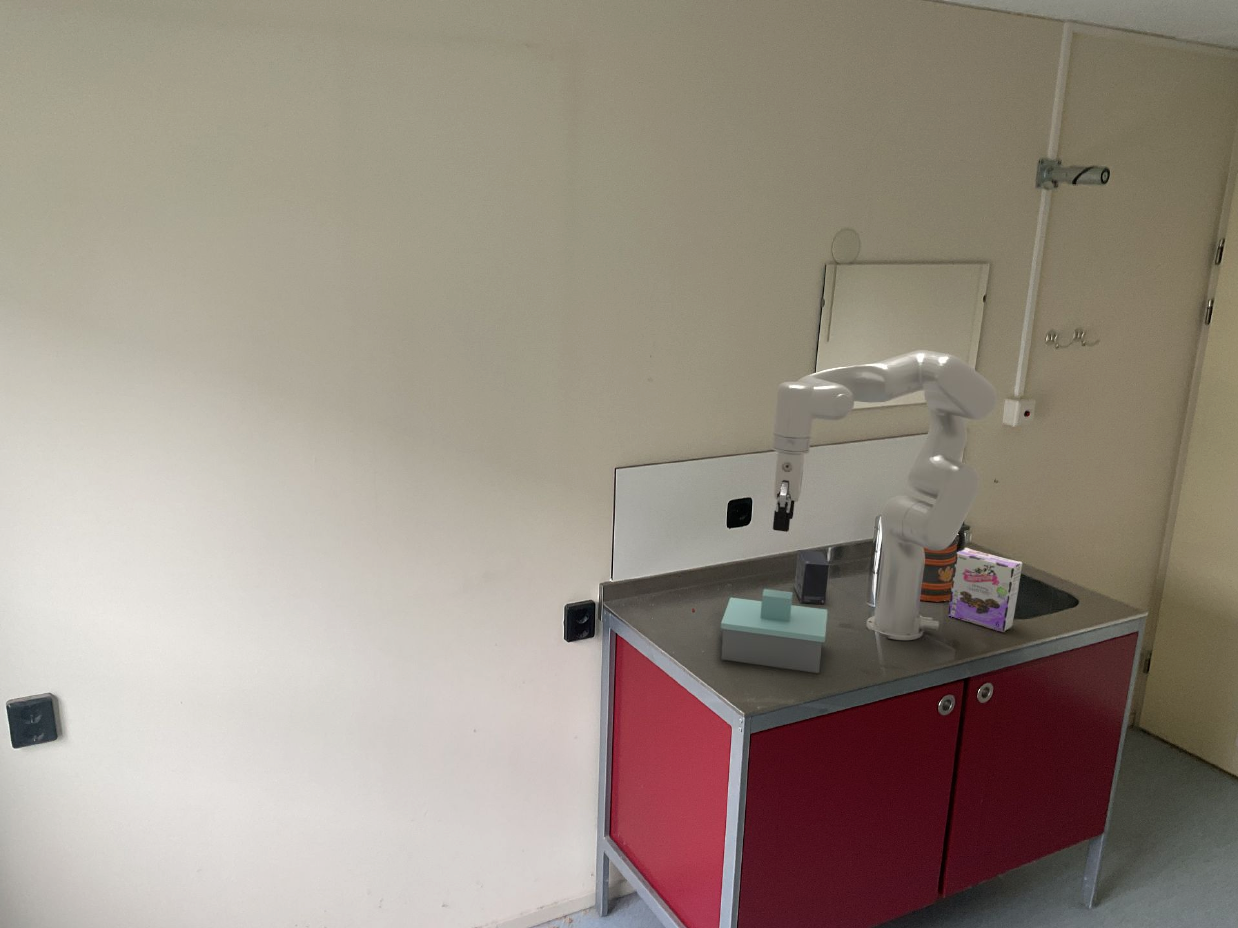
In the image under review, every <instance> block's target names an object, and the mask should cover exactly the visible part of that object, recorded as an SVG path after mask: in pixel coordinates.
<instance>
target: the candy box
mask: <svg viewBox="0 0 1238 928" xmlns="http://www.w3.org/2000/svg"><path fill="white" fill-rule="evenodd" d="M1022 569H1023V562H1022V561H1020V560H1019V561H1018V560H1013V559H1011V558H1010V559H1009V558H1005V557H1003V556H1002V557H1001V556H997V555H993V554H990V553H987V552H986V553H985V552H982V551H980V550H975V549H971V548H969V547H964V549H963V550H961V551H959V552H957V554H956V561H955V568H954V575H953V582H952V589H951V597H950V600H949V606H948V612H947V616H948V617H949V616H951V617H950V618H952V617H955V618H960V619H965V620H968V621H974V622H977V623H980V624H983V625H987V626H989V627H993V628H994V629H998V630H1003V631H1004V630H1006V629H1008V628H1009V627H1011V626H1012V625H1013V626H1014V617H1015V612H1016V605H1017V599H1018V594H1019V588H1020V587H1019V586H1020V581H1021V580H1020V579H1021V574H1022ZM955 618H954V619H955Z"/></svg>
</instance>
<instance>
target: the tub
mask: <svg viewBox="0 0 1238 928" xmlns="http://www.w3.org/2000/svg"><path fill="white" fill-rule="evenodd" d="M721 644H722V645H721V657H720V659H721V660H724V661H730V662H738V663H745V664H751V665H758V666H766V667H772V668H777V669H778V668H779V669H784V670H785V669H787V670H793V671H800V672H806V673H807V672H808V673H814V674H819V673H820V668H821V667H820V666H821V658H822V646H823V645H822V644H823V642H817V641H810V640H803V639H795V638H788V637H780V636H773V635H766V634H758V633H751V632H743V631H736V630H728V629H723V631H722V643H721Z"/></svg>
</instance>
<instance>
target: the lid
mask: <svg viewBox="0 0 1238 928" xmlns="http://www.w3.org/2000/svg"><path fill="white" fill-rule="evenodd" d="M792 602H793V592H792V591H784V590H776V589H767V588H764V589H763V592H762V595H761V600H754V599H744V598H737V597H729V600H728V603H727V606H726V609H725V611H724V614H723V617H722V620H721V622H720V629H728V630H736V631H743V632H751V633H758V634H766V635H773V636H780V637H788V638H795V639H803V640H810V641H817V642H822V643H826V642H825V640H826V632H827V620H828V609H825V608H817V607H809V606H799V605H793V604H792Z"/></svg>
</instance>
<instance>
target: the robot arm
mask: <svg viewBox="0 0 1238 928" xmlns="http://www.w3.org/2000/svg"><path fill="white" fill-rule="evenodd" d="M920 391H923V392H924V401H925V402H926V403H925V404H926V406H927V409H928V413H929V420H930V421H929V429H928V432H927V434H926V437H925V439H924V441H923V443H922V444H921V447H920V449H919V451H918V453H917V455H916V457H915V460H914V461H913V463H912V465H911V466H910V469H909V472H908V475H907V483H908V485H909V487H910V488H911V490H913V491H915V493H918V494H920V495H922V496H925V497H929V498H932V499H933V500H935V502H934V504H932V503H930V502H927V501H925V500H922V499H920V498H917V497H913V496H909V495H903V494H902V495H896V496H893V497H891V498H890V499H888V500H887V501H886V503H884V506H883V507H882V511H881V514H880V524H881V525H880V527H881V537H882V538H881V541H882V542H881V545H882V546H881V555H880V556H881V558H880V565H879V566H880V567H879V573H878V583H877V593H876V599H875V600H876V601H875V608H874V615H873V616H871V617H869V618H868V619H867V620H866V628H867V629H868V630H872V631H875V632H877V633H880V634H882V635H886V638H887V639H891V640H896V641H912V640H913V641H914V640H917V639H920V638H921V637H922V636H923V635H924V629H925V628H926V629H929V630H939V627H940V622H939V620H933V617H929V616H927V617H926V616H923V615H921V613H920V602H921V600H920V596H921V588H922V580H923V572H924V565H925V553H924V548H926V549H929V550H932V551H941V550H944V549H946V548H947V547H948V546H949V545H950V544H951V543H952V542H953V540H954V539H955V537H956V536H957V537H958V532H959V530H960V528H961V526H962V524H963V522H964V523H965V519H966V518H967V516H968V514H969V512H970V510H971V508H972V506H973V504H974V503H975V499H976V498H977V495H978V493H979V492H978V491H979V488H980V486H979V485H980V479H979V475H978V472H977V470H976V469H975V468H974V467H973V466H972V465H970V464H968V463H966V462H963V461H961V457H962V455H963V452H964V450H965V447H966V445H967V442H968V428H967V424H966V421H965V419H968V420H975V421H980V420H984V419H986V418H988V417H989V416H990V415H992V413H994V411H995V409H996V406H997V403H998V397H997V391H996V389H995V387H994V385H992V383H991V382H990V381H988V380H987V379H986V378H985V377H984V376H983V375H982V374H980V373H979V372H978V371H977V370H975V369H974V368H973V367H972V366H971V365H970V364H968V363H967V362H965V361H964V360H962V359H961V358H960V357H958V356H956V355H954V354H951V353H945V352H944V353H943V352H939V351H933V350H927V349H919V350H917V349H916V350H913V351H909V352H906V353H903V354H899V355H897V356H893V357H890V358H887V359H884V360H880V361H877V362H873V363H864V364H857V365H850V366H843V367H834V368H829V369H824V370H820V371H817V372H815V373H811V374H807V375H804V376H803V377H801V378H799V379H798V380H797V381H784V382H781V383H780V384H779V385H778V388H777V392H776V393H777V394H776V403H775V414H774V423H773V424H774V426H773V434H772V442H771V443H772V444H771V450H773V451H775V452H777V453H776V463H775V473H774V492H773V493H774V494H773V495H774V496H773V497H774V499H775V500H776V504H775V510H774V512H773V522H772V523H773V524H772V529H773V531H776V532H777V531H779V532H786V533H787V532H789V530H790V523H791V520H793V518H794V510H795V503H797V502H798V501H799V499H800V497H801V494H802V483H803V475H804V474H803V472H804V464H805V463H804V462H805V461H804V460H805V458H804V457H805V455H807V454H809V453H810V447H811V439H812V438H811V437H812V429H813V421H814V419H818V420H825V421H838V420H842V419H845V418H846V417H847V416H849V414H851V412H852V411H853V409H854V404H855V402H858V403H859V402H860V403H872V404H873V403H886V402H889V401H893V400H895V399H898V398H901V397H903V396H907V395H910V394H913V393H917V392H920ZM923 547H924V548H923Z"/></svg>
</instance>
